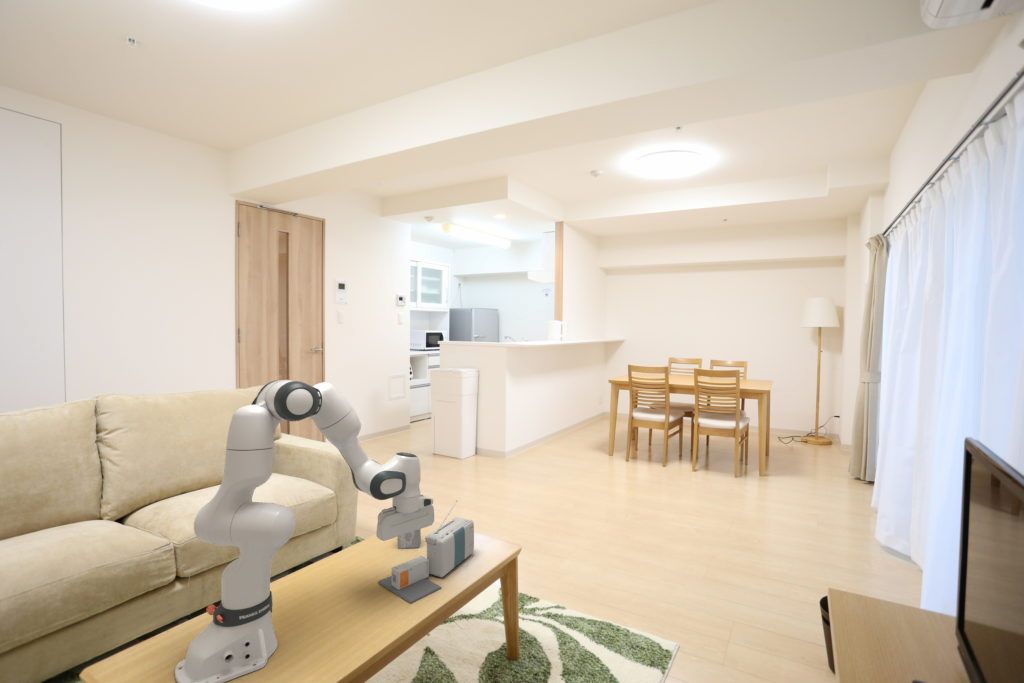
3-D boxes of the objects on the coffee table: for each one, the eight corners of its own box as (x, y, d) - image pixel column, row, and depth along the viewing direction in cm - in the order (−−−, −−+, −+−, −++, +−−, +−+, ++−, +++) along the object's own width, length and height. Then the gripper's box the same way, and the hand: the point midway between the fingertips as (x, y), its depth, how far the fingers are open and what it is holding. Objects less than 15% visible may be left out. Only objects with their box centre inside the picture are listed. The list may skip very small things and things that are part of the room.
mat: (410, 603, 150) (410, 602, 150) (377, 583, 162) (377, 581, 162) (441, 588, 159) (441, 586, 159) (407, 570, 171) (407, 568, 171)
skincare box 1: (420, 541, 195) (420, 501, 194) (418, 549, 188) (418, 508, 187) (399, 541, 194) (399, 501, 194) (396, 549, 187) (395, 508, 187)
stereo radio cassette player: (443, 580, 164) (443, 521, 164) (423, 575, 168) (423, 517, 167) (475, 554, 183) (475, 501, 183) (456, 550, 187) (456, 498, 186)
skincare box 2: (398, 572, 157) (429, 559, 165) (391, 567, 160) (421, 554, 168) (398, 590, 157) (429, 576, 166) (391, 585, 160) (421, 572, 169)
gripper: (383, 513, 149) (383, 559, 149) (437, 498, 164) (437, 539, 164) (372, 508, 154) (372, 553, 154) (425, 494, 169) (425, 534, 169)
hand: (406, 545), depth 159 cm, fingers closed
